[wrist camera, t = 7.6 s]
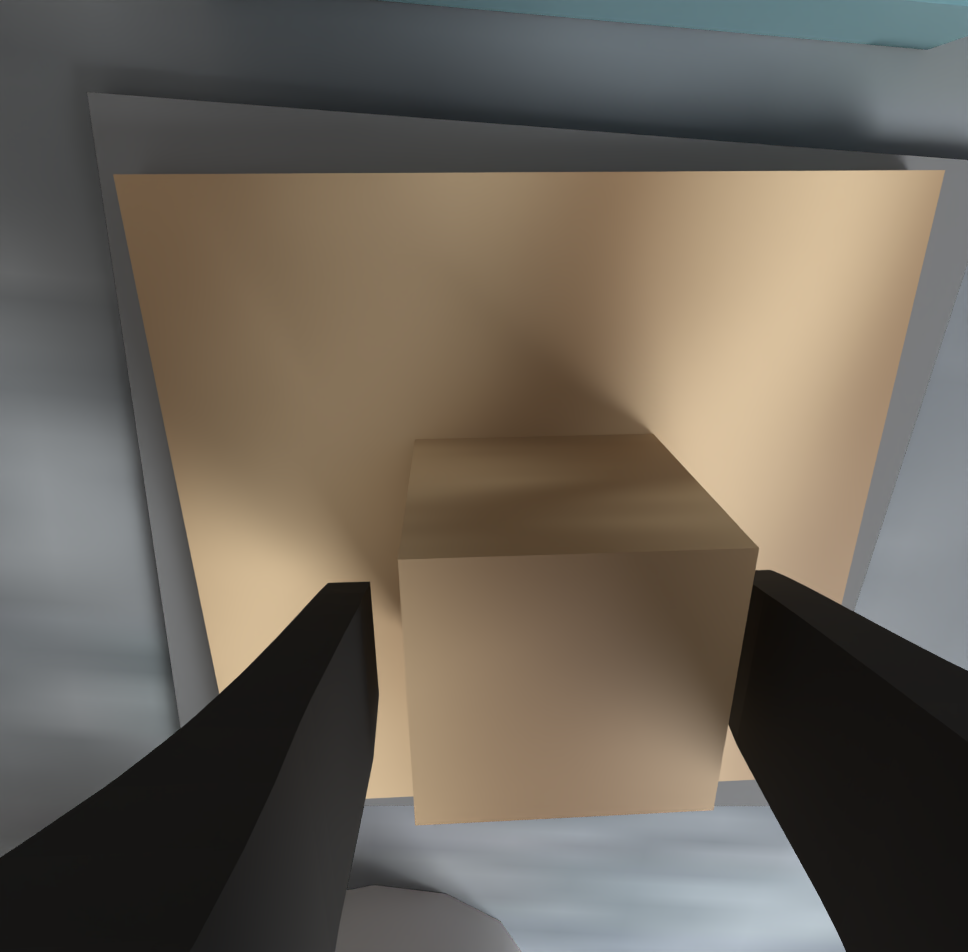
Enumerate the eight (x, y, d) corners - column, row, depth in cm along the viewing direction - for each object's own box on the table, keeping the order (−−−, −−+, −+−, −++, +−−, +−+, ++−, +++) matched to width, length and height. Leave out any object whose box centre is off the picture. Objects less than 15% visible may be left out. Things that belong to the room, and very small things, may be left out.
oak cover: (909, 173, 10) (1260, 143, 6) (783, 749, 15) (926, 978, 10) (138, 177, 10) (-119, 149, 5) (252, 774, 14) (165, 1027, 10)
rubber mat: (981, 164, 11) (1001, 162, 10) (782, 792, 16) (789, 806, 16) (100, 96, 10) (87, 92, 9) (198, 790, 15) (191, 805, 15)
